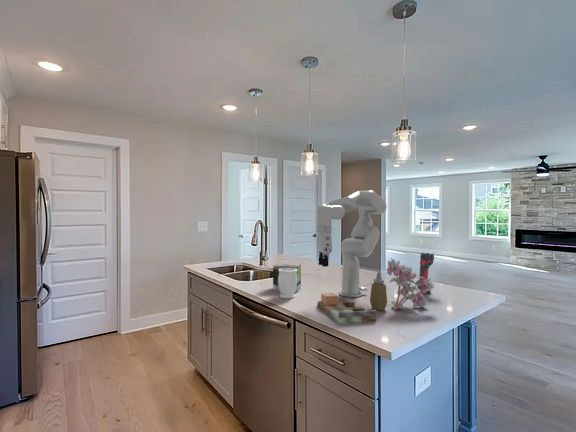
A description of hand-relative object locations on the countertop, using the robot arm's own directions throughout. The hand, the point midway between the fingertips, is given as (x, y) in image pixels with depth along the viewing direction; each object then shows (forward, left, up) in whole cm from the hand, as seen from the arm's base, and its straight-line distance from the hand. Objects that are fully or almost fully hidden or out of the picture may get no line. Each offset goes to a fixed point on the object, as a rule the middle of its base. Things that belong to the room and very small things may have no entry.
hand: (323, 265), depth 165 cm
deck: (-4, +18, -19) cm, 26 cm away
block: (0, +9, -17) cm, 19 cm away
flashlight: (-67, -7, -20) cm, 71 cm away
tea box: (+11, -31, -20) cm, 39 cm away
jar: (+15, -15, -20) cm, 29 cm away
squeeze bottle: (-22, +16, -20) cm, 34 cm away
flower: (-39, +17, -20) cm, 47 cm away
